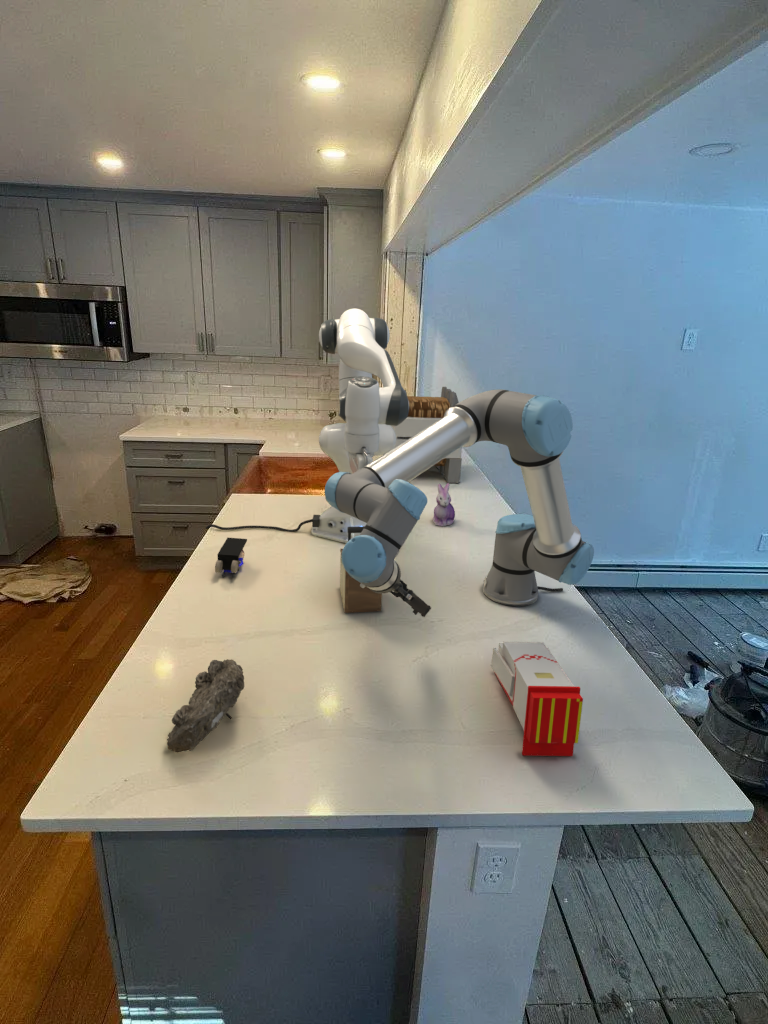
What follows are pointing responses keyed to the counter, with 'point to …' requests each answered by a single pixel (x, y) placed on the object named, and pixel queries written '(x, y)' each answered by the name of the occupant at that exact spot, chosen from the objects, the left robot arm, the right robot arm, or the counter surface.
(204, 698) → the fossil
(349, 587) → the chest
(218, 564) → the black wheeled toy vehicle
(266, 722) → the counter surface
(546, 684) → the toy
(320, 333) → the left robot arm
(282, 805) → the counter surface
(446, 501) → the figurine
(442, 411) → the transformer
